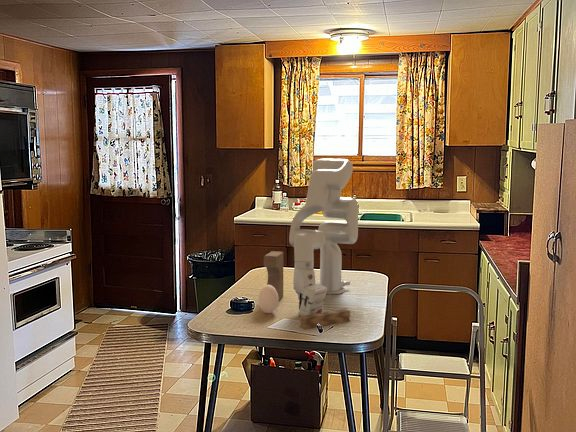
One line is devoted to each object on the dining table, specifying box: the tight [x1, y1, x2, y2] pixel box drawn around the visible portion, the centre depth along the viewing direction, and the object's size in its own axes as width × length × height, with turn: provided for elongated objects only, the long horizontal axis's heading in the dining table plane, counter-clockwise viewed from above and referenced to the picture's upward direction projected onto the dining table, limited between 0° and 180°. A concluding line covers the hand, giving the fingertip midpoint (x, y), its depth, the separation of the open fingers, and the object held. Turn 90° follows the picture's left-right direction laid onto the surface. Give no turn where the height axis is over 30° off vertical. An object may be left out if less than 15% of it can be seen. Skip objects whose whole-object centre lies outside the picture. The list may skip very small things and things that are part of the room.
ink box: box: [298, 282, 327, 316], centre depth 232 cm, size 8×5×12 cm, turn 140°
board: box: [299, 308, 351, 330], centre depth 224 cm, size 20×3×4 cm, turn 120°
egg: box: [257, 284, 280, 314], centre depth 237 cm, size 8×8×11 cm
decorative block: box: [263, 250, 284, 301], centre depth 256 cm, size 11×6×20 cm, turn 163°
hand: (303, 310), depth 238 cm, fingers closed
